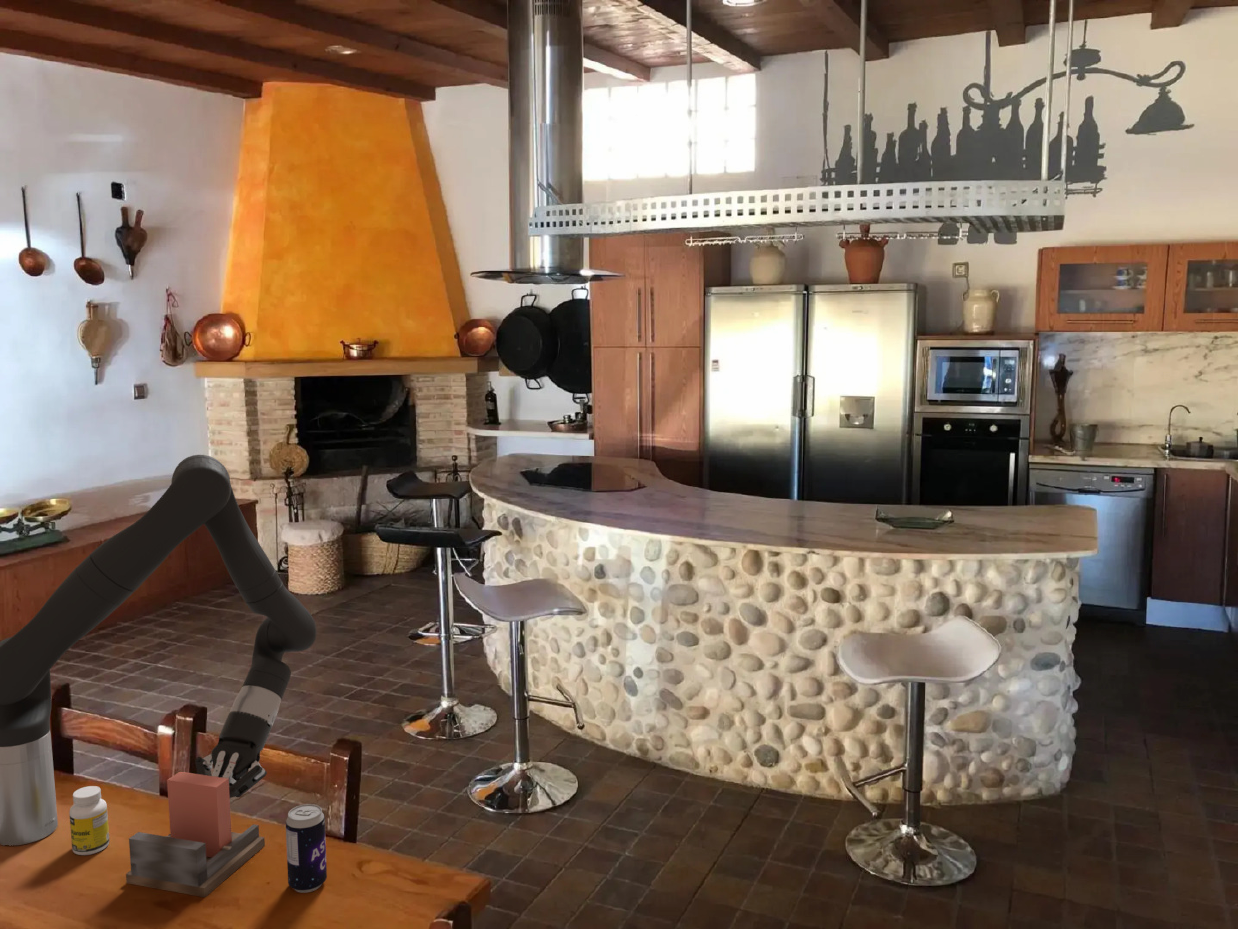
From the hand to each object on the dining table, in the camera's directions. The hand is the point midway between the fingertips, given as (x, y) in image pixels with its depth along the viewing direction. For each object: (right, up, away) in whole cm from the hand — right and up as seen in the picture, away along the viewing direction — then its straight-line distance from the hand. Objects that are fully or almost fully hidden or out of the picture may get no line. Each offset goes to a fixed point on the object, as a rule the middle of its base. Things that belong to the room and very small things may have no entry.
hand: (208, 820), depth 157 cm
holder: (-1, -6, -2) cm, 7 cm away
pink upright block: (0, -4, -1) cm, 5 cm away
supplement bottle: (-20, -6, +2) cm, 21 cm away
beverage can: (+18, -7, -8) cm, 21 cm away
